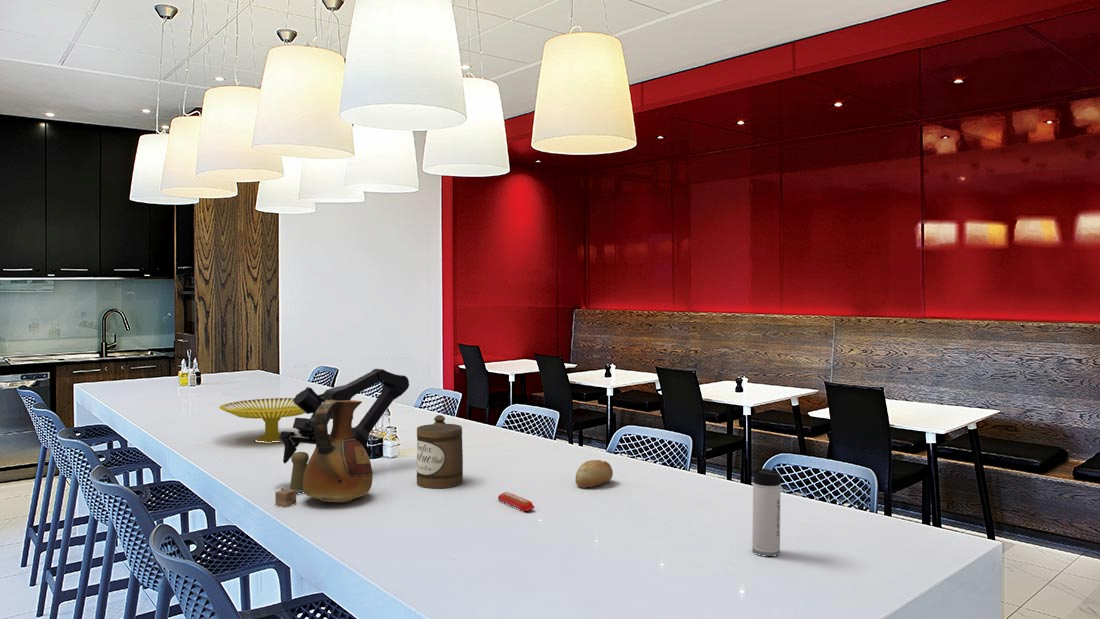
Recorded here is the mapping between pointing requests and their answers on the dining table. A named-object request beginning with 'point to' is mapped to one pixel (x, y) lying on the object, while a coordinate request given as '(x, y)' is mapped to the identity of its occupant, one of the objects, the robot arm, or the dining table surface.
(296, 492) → the coaster
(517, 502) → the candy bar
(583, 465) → the bread roll
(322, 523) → the dining table surface
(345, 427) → the ceramic pitcher
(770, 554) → the travel mug
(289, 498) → the walnut block
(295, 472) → the cork
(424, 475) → the wooden container
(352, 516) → the dining table surface
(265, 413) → the cake stand
